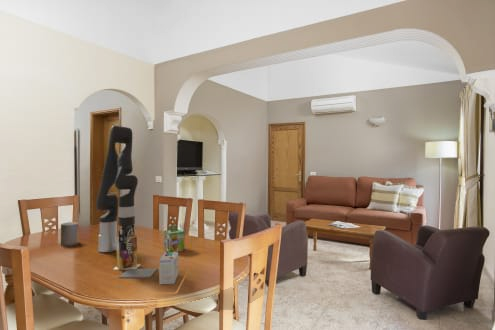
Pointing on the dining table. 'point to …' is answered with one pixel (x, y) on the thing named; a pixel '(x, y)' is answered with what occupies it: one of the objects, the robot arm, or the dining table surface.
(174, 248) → the chalk box
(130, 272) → the slate coaster
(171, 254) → the light bulb box
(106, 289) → the dining table surface
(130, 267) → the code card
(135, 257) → the candy box
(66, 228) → the pillar candle
